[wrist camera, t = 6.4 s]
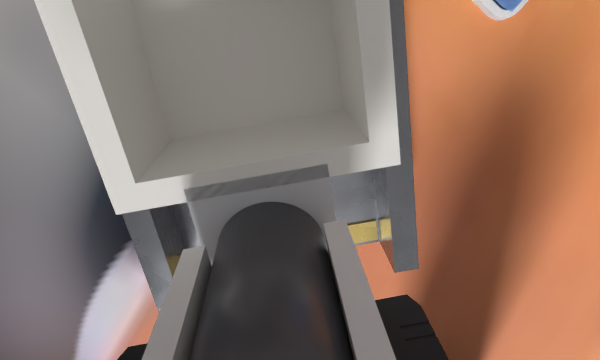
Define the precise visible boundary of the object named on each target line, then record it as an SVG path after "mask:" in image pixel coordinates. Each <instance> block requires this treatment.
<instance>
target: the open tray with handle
mask: <svg viewBox="0 0 600 360" xmlns="http://www.w3.org/2000/svg"><path fill="white" fill-rule="evenodd" d="M34 1H35V4H36V7H37V9H38V12H39V14H40V17H41V19H42V22H43V25H44V27H45V30H46V33H47V35H48V38H49V40H50V43H51V46H52V48H53V51H54V54H55V56H56V59H57V61H58V64H59V67H60V69H61V72H62V75H63V77H64V80H65V82H66V85H67V88H68V90H69V93H70V95H71V98H72V101H73V103H74V106H75V109H76V111H77V114H78V116H79V119H80V122H81V124H82V127H83V129H84V132H85V135H86V137H87V140H88V142H89V145H90V148H91V150H92V153H93V156H94V158H95V161H96V163H97V166H98V168H99V171H100V174H101V176H102V179H103V182H104V184H105V187H106V189H107V192H108V195H109V197H110V200H111V203H112V205H113V208H114V210H115V213H116V214H117V215H118V214H123V213H129V212H135V211H140V210H146V209H152V208H157V207H163V206H169V205H174V204H180V203H186V202H187V203H188V206H189V210H190V213H191V216H192V220H193V223H194V226H195V230H196V233H197V236H198V239H199V243H200V246H204V245H205V246H206V249H207V252H208V256H209V259H210V262H211V265H212V268H211V273H210V277H209V281H208V285H207V290H206V294H205V298H204V302H203V306H202V311H201V315H200V319H199V323H198V328H197V332H196V336H195V340H194V345H193V349H192V353H191V357H190V360H354V358H353V354H352V350H351V345H350V341H349V337H348V333H347V329H346V325H345V321H344V316H343V312H342V308H341V304H340V300H339V296H338V292H337V287H336V283H335V279H334V275H333V271H332V267H331V263H330V259H329V255H328V249H327V243H326V238H325V232H324V226H323V223H329V222H334V221H336V218H335V211H334V204H333V197H332V190H331V183H330V177H333V176H338V175H344V174H350V173H355V172H361V171H367V170H372V169H378V168H384V167H389V166H395V165H401V161H400V147H399V133H398V118H397V104H396V90H395V75H394V61H393V47H392V33H391V18H390V4H389V0H34Z"/></svg>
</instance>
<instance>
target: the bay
mask: <svg viewBox="0 0 600 360" xmlns="http://www.w3.org/2000/svg"><path fill="white" fill-rule="evenodd" d="M389 4H390V18H391V33H392V47H393V61H394V75H395V90H396V104H397V118H398V133H399V147H400V161H401V165H395V166H389V167H384V168H378V169H372V170H367V171H361V172H355V173H350V174H344V175H338V176H333V177H330V183H331V190H332V197H333V204H334V211H335V218H336V221H340V220H346V223H347V225H348V228H349V231H350V234H351V236H352V239H353V242H354V245H355V246H356V245H361V244H367V243H373V242H378V241H380V243H381V245H382V247H383V249H384V251H385V253H386V255H387V257H388V260H389V262H390V264H391V266H392V268H393V270H394V272H395V273H396V272H401V271H407V270H413V269H418V268H419V264H418V247H417V230H416V212H415V195H414V177H413V160H412V143H411V125H410V108H409V91H408V73H407V56H406V39H405V21H404V4H403V0H389ZM122 215H123V218H124V220H125V223H126V226H127V228H128V231H129V234H130V236H131V239H132V242H133V244H134V247H135V250H136V252H137V255H138V258H139V260H140V263H141V266H142V268H143V271H144V274H145V276H146V279H147V282H148V284H149V287H150V290H151V292H152V295H153V298H154V300H155V303H156V306H157V308H158V311H159V312H160V310H161V307H162V304H163V302H164V299H165V296H166V294H167V291H168V288H169V286H170V283H171V280H172V278H173V275H174V272H175V270H176V267H177V265H178V262H179V259H180V257H181V254H182V251H183V249H188V248H194V247H199V246H200V243H199V239H198V236H197V233H196V230H195V226H194V223H193V220H192V216H191V213H190V210H189V206H188V203H187V202H186V203H180V204H174V205H169V206H163V207H157V208H152V209H146V210H140V211H135V212H129V213H123V214H122Z"/></svg>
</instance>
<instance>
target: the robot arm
mask: <svg viewBox="0 0 600 360" xmlns="http://www.w3.org/2000/svg"><path fill="white" fill-rule="evenodd" d="M323 226H324V232H325V238H326V243H327V249H328V255H329V259H330V263H331V267H332V271H333V275H334V279H335V283H336V287H337V292H338V296H339V300H340V304H341V308H342V312H343V316H344V321H345V325H346V329H347V333H348V337H349V341H350V345H351V350H352V354H353V358H354V360H448V358H447V356H446V354H445V352H444V350H443V348H442V346H441V344H440V342H439V340H438V338H437V337H436V336H435V332H434V331H433V329H432V327H431V325H430V324H429V321H428V319H427V317H426V315H425V313H424V311H423V309H422V307H421V306H420V305H419V304H418V303H417V302H415V301H414V300H413V299H412V298H410V297H409V296H408V295H401V296H396V297H391V298H385V299H380V300H374V297H373V294H372V291H371V289H370V286H369V283H368V280H367V278H366V275H365V272H364V269H363V267H362V264H361V261H360V258H359V256H358V253H357V250H356V247H355V245H354V242H353V239H352V236H351V234H350V231H349V228H348V225H347V223H346V220H340V221H334V222H329V223H323ZM211 268H212V265H211V262H210V259H209V256H208V252H207V249H206V246H205V245H204V246H199V247H194V248H188V249H183V251H182V254H181V257H180V259H179V262H178V265H177V267H176V270H175V272H174V275H173V278H172V280H171V283H170V286H169V288H168V291H167V294H166V296H165V299H164V302H163V304H162V307H161V310H160V312H159V315H158V317H157V320H156V323H155V325H154V328H153V331H152V333H151V336H150V339H149V341H148V343H147V344H142V345H137V346H131V347H128V348H127V349H126V350H125V351H124V353H123V354H122V355H121V356H120V357H119V358H118V359H117V360H190V357H191V353H192V349H193V345H194V340H195V336H196V332H197V328H198V323H199V319H200V315H201V311H202V306H203V302H204V298H205V294H206V290H207V285H208V281H209V277H210V273H211Z"/></svg>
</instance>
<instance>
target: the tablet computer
mask: <svg viewBox="0 0 600 360" xmlns="http://www.w3.org/2000/svg"><path fill="white" fill-rule="evenodd" d="M472 1H473V2H474V3H475V4H476V5H477V6H478V7H479V8H480V9H481V10H482V11H483V12H484V13H485V14H486V15H487V16H488V17H489V18H491V19H494V20H499V21H500V20H505V19H507V18H509V17H511V16H513V15H515V14H516V13H517V12H518V11H520V10H521V8H522V7H523V6H524V5H525V4H526V3H527V2H528V0H472Z"/></svg>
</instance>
